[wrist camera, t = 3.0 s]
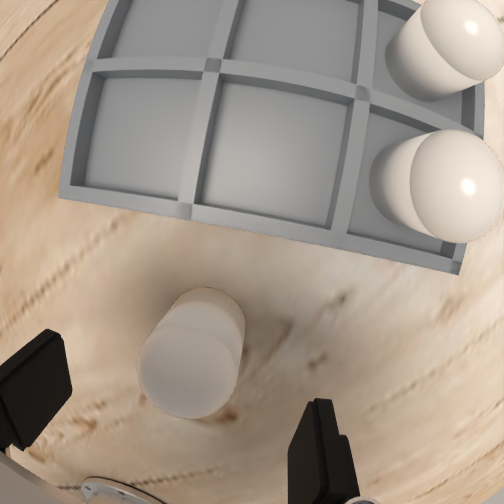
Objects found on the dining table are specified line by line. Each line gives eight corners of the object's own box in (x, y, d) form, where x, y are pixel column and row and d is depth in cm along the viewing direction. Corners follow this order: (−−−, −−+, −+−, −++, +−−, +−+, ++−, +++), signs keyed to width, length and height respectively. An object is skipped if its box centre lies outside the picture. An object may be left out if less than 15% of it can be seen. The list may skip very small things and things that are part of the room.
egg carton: (441, 266, 16) (458, 275, 14) (77, 196, 16) (58, 198, 14) (465, 45, 13) (480, 36, 11) (134, -17, 13) (124, -31, 11)
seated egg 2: (431, 232, 15) (513, 265, 8) (361, 214, 15) (427, 239, 8) (444, 156, 14) (531, 149, 7) (375, 132, 14) (447, 100, 7)
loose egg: (239, 362, 18) (223, 448, 11) (168, 346, 18) (123, 421, 11) (252, 296, 17) (241, 369, 10) (174, 279, 17) (118, 338, 10)
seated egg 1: (448, 113, 14) (530, 87, 6) (381, 86, 14) (447, 34, 6) (449, 52, 12) (516, 10, 5) (386, 24, 13) (436, -40, 5)
